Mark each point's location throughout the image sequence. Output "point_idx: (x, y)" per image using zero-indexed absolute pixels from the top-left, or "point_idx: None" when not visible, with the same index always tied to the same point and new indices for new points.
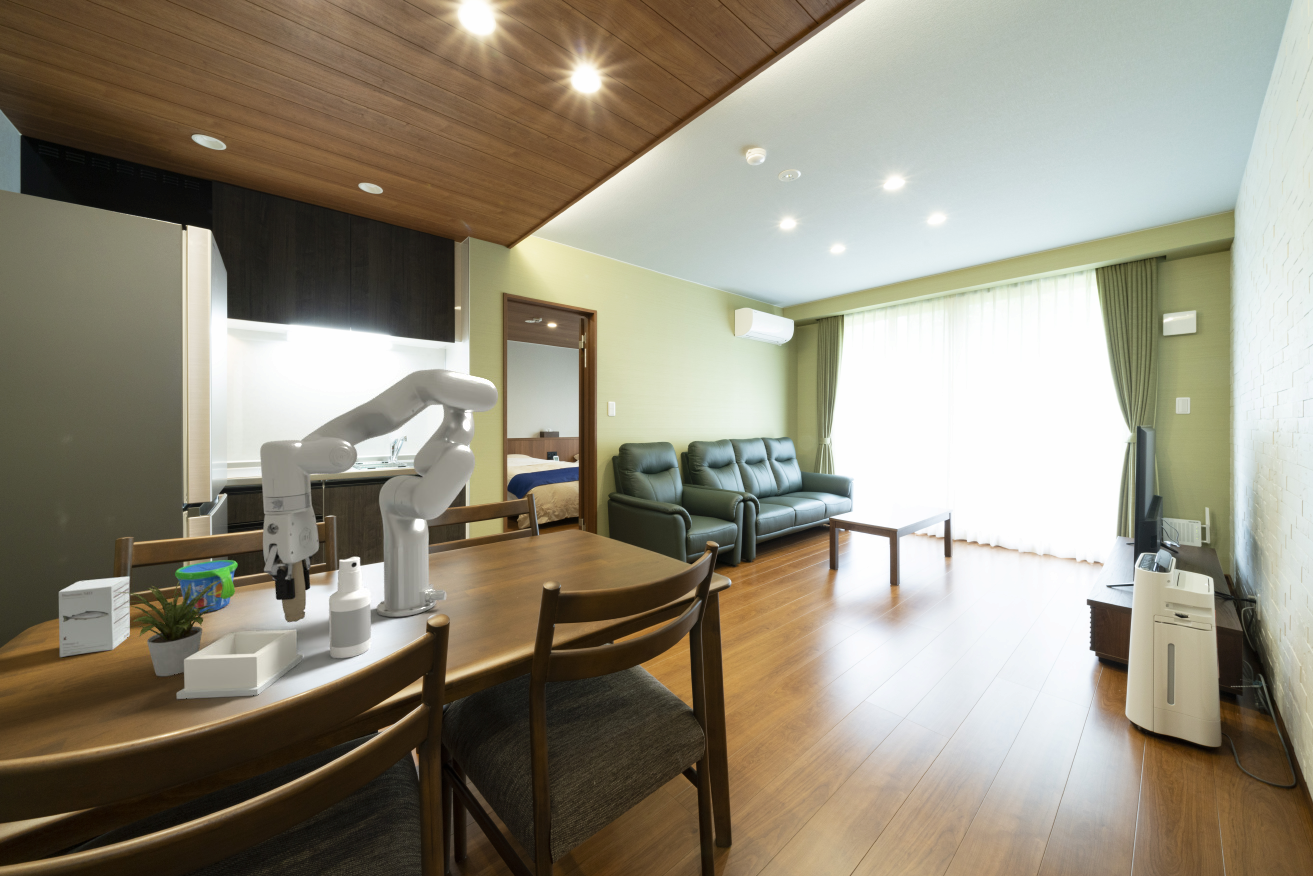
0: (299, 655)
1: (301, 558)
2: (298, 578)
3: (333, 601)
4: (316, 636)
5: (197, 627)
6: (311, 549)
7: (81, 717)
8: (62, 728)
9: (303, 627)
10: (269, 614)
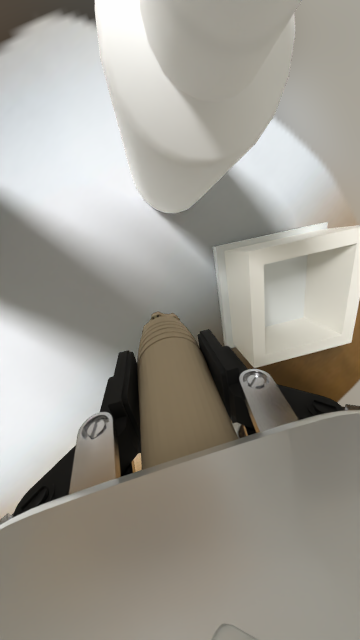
0: (220, 248)
1: (270, 447)
2: (192, 371)
3: (282, 92)
4: (125, 298)
5: (239, 427)
6: (89, 577)
7: (329, 374)
8: (345, 369)
9: (97, 351)
10: (71, 437)
